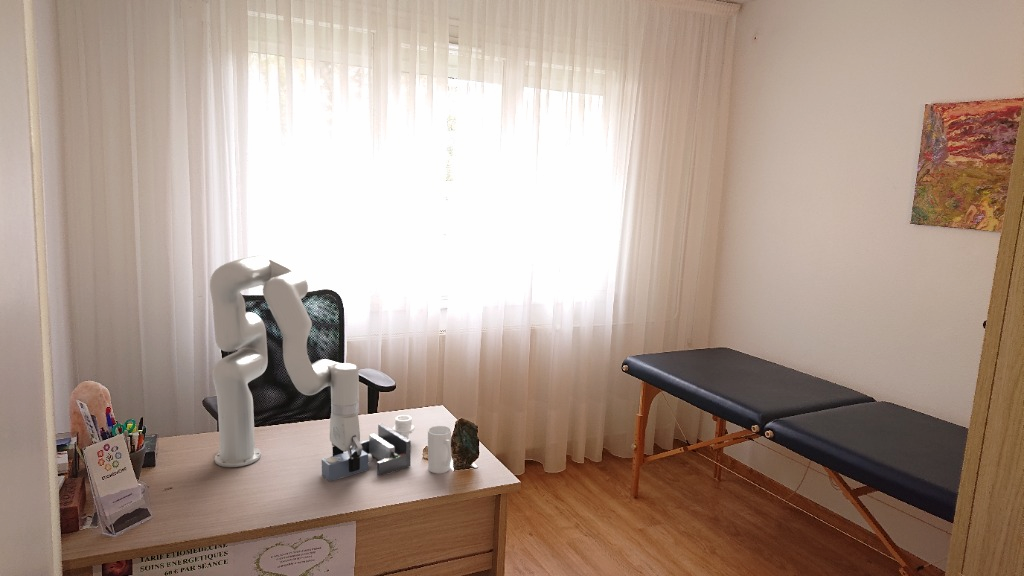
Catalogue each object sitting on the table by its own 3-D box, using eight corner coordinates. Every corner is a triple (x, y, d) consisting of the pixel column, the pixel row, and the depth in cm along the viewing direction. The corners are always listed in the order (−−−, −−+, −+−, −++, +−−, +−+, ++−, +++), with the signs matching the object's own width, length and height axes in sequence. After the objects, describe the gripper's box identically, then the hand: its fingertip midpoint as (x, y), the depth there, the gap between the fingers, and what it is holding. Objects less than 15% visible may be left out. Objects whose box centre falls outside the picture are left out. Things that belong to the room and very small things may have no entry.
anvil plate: (394, 470, 188) (394, 451, 187) (369, 453, 199) (369, 434, 198) (399, 469, 189) (399, 449, 188) (374, 451, 200) (373, 433, 199)
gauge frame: (379, 476, 186) (378, 450, 184) (351, 456, 197) (351, 431, 196) (410, 466, 192) (410, 440, 191) (382, 447, 204) (382, 423, 203)
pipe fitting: (402, 435, 214) (402, 412, 212) (418, 441, 210) (418, 417, 208) (388, 441, 209) (388, 418, 207) (404, 448, 204) (404, 423, 203)
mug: (423, 466, 192) (423, 428, 190) (443, 461, 196) (444, 423, 194) (439, 480, 184) (440, 440, 182) (460, 475, 188) (461, 435, 186)
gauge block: (321, 475, 185) (321, 458, 184) (366, 462, 194) (366, 446, 193) (329, 482, 182) (328, 464, 181) (374, 468, 191) (374, 451, 190)
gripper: (319, 401, 188) (320, 457, 191) (347, 420, 175) (348, 479, 178) (343, 396, 193) (344, 450, 196) (372, 414, 180) (372, 471, 183)
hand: (346, 464), depth 187 cm, fingers open, 9 cm apart
